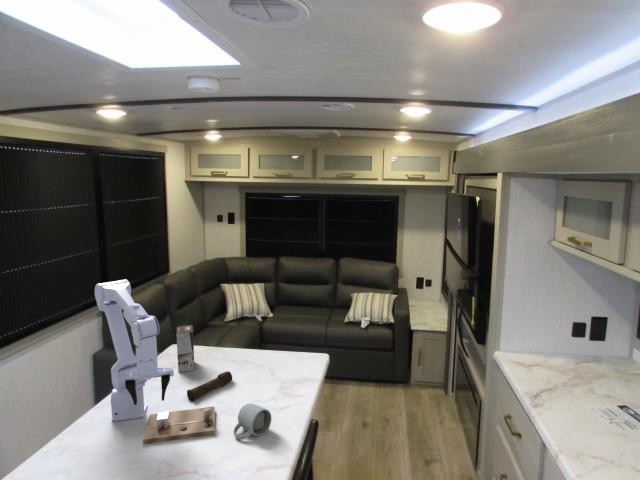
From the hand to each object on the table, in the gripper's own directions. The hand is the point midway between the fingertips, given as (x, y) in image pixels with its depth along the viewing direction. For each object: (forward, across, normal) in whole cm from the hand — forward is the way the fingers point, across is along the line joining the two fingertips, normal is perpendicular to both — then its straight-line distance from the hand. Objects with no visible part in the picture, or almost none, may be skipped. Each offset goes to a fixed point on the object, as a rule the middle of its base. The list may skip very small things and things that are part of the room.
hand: (149, 401), depth 129 cm
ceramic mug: (+10, +29, -11) cm, 32 cm away
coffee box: (+10, +12, +44) cm, 47 cm away
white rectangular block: (+8, +4, -1) cm, 9 cm away
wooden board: (+9, +9, -1) cm, 13 cm away
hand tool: (+10, +19, +21) cm, 30 cm away
